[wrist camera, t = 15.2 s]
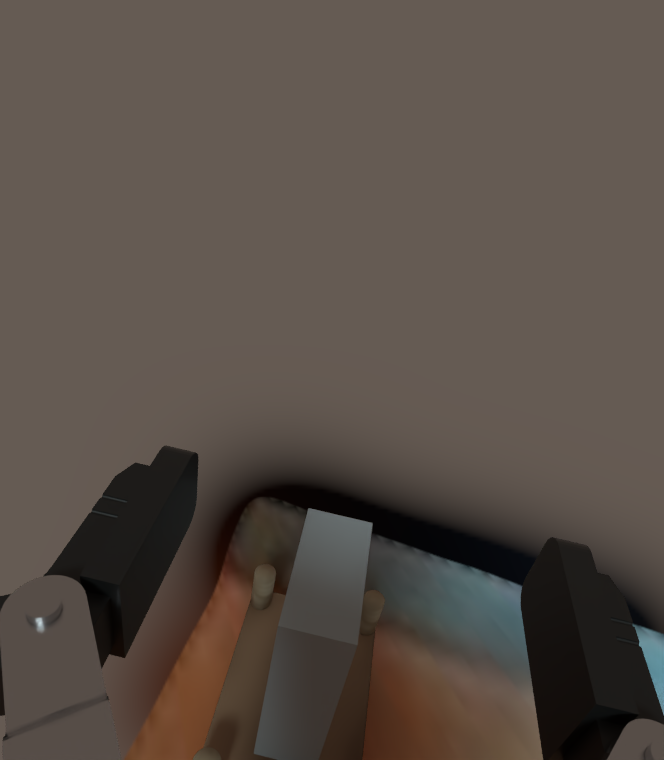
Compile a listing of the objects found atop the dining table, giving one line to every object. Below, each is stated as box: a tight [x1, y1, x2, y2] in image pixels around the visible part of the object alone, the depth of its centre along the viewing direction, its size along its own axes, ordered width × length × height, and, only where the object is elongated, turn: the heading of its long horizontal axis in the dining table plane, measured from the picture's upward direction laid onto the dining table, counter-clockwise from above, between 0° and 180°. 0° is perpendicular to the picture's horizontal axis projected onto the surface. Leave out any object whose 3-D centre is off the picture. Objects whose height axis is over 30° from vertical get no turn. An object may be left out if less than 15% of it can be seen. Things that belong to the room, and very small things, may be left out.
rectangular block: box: [254, 508, 372, 760], centre depth 35 cm, size 4×8×14 cm, turn 171°
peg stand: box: [193, 564, 385, 760], centre depth 38 cm, size 10×15×6 cm, turn 171°
